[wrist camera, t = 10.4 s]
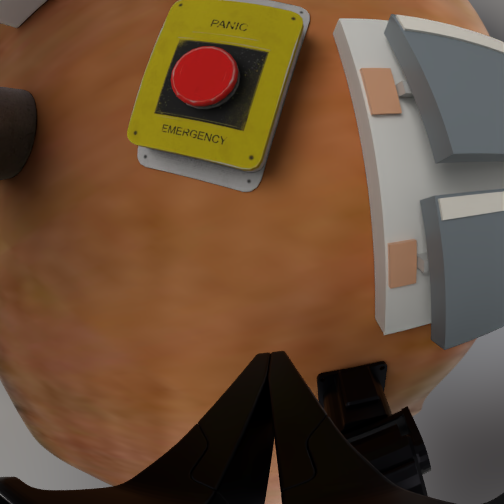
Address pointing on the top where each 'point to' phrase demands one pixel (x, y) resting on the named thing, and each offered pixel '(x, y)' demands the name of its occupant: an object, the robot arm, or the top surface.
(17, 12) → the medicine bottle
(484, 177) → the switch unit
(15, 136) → the pillar candle
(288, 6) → the emergency button
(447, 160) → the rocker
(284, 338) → the top surface
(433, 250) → the block
